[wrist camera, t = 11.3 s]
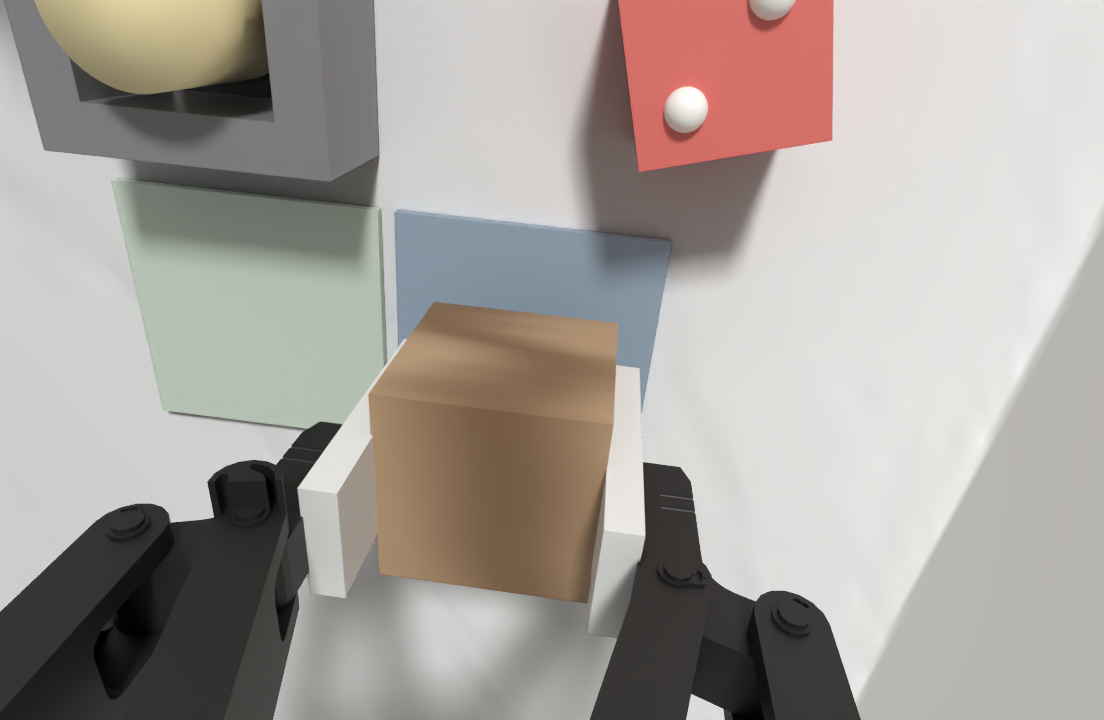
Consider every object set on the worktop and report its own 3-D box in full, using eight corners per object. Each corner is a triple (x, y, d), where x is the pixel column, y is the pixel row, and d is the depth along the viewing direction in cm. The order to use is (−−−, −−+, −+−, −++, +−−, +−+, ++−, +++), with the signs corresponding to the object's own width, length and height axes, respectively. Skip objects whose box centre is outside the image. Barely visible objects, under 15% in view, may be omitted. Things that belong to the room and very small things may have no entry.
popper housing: (139, 129, 19) (44, 150, 16) (78, -180, 15) (-59, -232, 12) (379, 154, 18) (329, 181, 15) (367, -155, 15) (302, -201, 12)
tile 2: (403, 435, 23) (400, 440, 22) (397, 209, 19) (394, 212, 19) (631, 464, 22) (631, 469, 22) (671, 239, 19) (671, 243, 18)
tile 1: (168, 405, 23) (163, 410, 23) (118, 178, 19) (111, 180, 19) (389, 433, 23) (386, 438, 23) (380, 207, 19) (377, 210, 19)
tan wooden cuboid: (434, 452, 20) (379, 573, 16) (433, 301, 18) (368, 393, 13) (597, 473, 20) (587, 603, 15) (618, 323, 17) (613, 424, 13)
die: (635, 142, 18) (639, 176, 14) (615, -26, 16) (613, -42, 12) (788, 116, 17) (838, 143, 13) (784, -62, 15) (841, -92, 11)
